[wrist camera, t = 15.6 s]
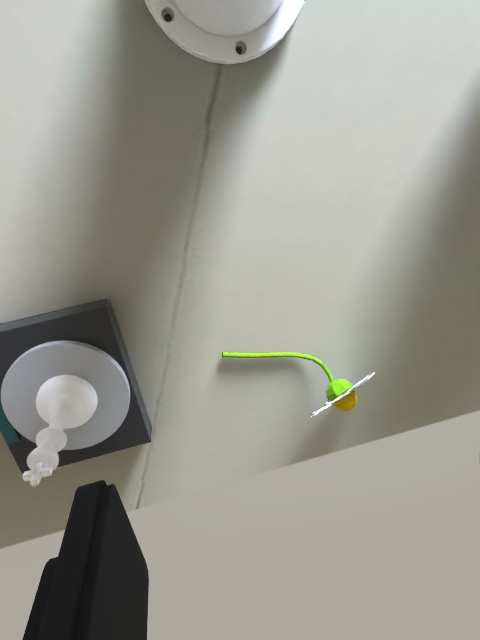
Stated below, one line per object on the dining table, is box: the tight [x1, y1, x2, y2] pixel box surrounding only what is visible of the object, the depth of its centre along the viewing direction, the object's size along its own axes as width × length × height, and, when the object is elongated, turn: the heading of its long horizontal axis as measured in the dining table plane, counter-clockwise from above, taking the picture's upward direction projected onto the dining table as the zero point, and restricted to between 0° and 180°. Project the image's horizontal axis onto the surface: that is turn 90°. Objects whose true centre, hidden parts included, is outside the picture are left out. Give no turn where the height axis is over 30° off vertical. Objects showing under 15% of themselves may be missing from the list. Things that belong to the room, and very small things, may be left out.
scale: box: [0, 299, 152, 474], centre depth 36 cm, size 14×12×3 cm
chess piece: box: [22, 375, 98, 486], centre depth 30 cm, size 5×5×10 cm
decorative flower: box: [222, 352, 375, 418], centre depth 40 cm, size 8×6×15 cm
